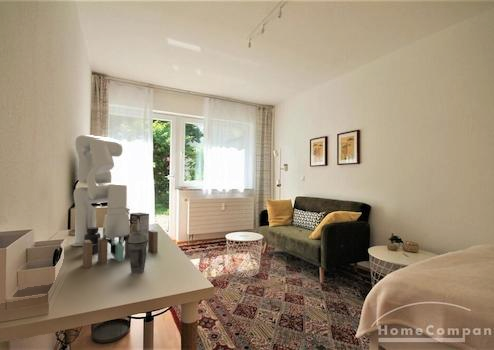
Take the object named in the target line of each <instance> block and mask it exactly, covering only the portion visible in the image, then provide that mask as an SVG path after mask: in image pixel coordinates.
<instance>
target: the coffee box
mask: <svg viewBox="0 0 494 350" xmlns="http://www.w3.org/2000/svg"><path fill="white" fill-rule="evenodd" d="M137 219H139V231H143V232H144V233H146V234H147V237H148V230H149V229H150V228H149V227H150V214H149V213H146V212H145V213H144V212H132V213H129V223H130V234H132V233H133V232H135V231H137Z"/></svg>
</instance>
